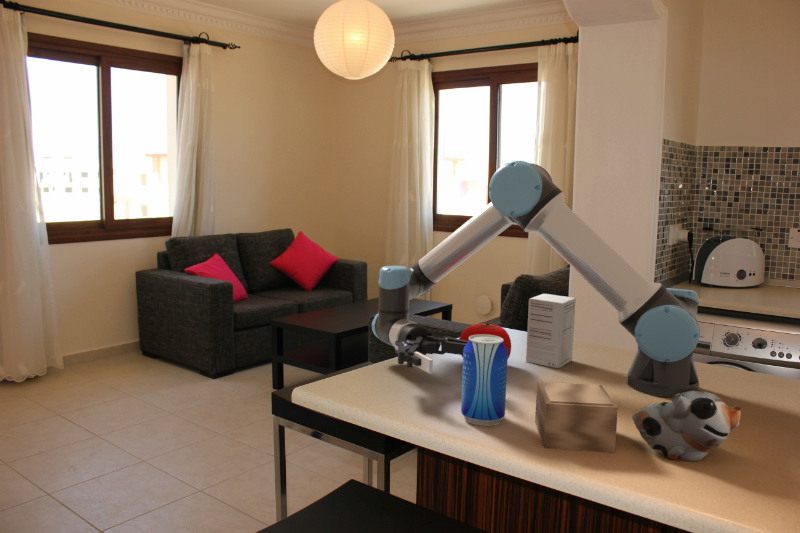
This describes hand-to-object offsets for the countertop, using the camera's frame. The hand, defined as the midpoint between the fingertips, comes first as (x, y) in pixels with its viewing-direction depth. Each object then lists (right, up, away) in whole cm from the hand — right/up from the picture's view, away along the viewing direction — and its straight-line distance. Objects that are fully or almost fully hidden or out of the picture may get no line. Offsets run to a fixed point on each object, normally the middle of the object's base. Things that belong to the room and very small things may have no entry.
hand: (460, 362), depth 126 cm
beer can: (+4, -10, -6) cm, 12 cm away
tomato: (+9, -5, +29) cm, 31 cm away
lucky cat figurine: (+37, -13, -18) cm, 43 cm away
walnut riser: (+19, -11, -13) cm, 26 cm away
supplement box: (+26, -5, +35) cm, 44 cm away
